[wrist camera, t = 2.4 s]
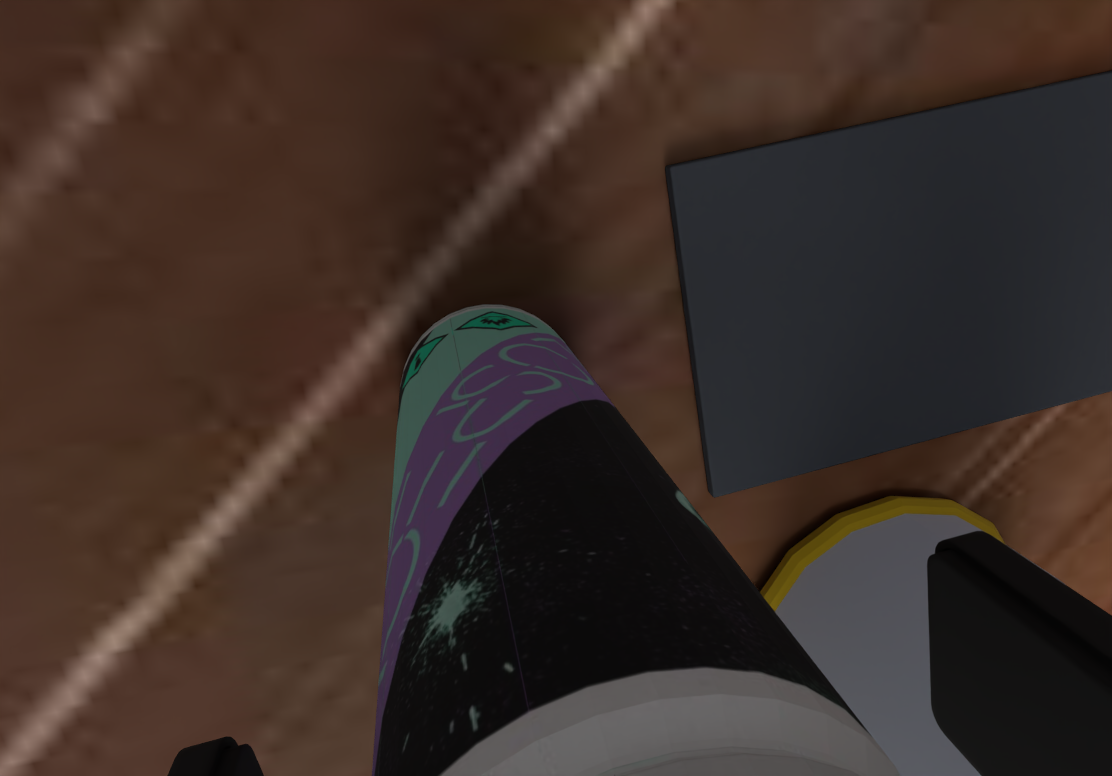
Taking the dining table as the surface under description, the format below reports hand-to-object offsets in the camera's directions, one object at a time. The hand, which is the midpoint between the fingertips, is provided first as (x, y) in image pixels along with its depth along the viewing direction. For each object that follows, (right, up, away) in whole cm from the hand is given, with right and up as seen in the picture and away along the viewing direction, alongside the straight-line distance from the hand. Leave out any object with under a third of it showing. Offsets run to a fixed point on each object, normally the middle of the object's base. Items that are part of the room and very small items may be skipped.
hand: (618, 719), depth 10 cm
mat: (+13, +8, +15) cm, 21 cm away
